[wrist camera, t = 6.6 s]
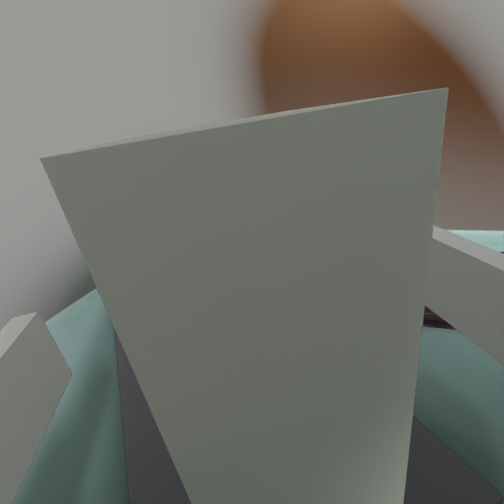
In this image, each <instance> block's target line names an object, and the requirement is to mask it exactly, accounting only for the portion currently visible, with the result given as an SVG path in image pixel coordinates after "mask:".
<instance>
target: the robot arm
mask: <svg viewBox="0 0 504 504" xmlns="http://www.w3.org/2000/svg"><path fill="white" fill-rule="evenodd" d="M425 306H426V307H428V308H429V309H430V310H432V311H433V312H434V313H436V314H437V315H438V316H440V317H441V318H442V319H444V320H445V321H446V322H448V323H449V324H450V325H451V326H453V327H454V328H455V329H457V330H458V331H459V332H461V333H462V334H463V335H465V336H466V337H467V338H469V339H470V340H471V341H473V342H474V343H475V344H477V345H478V346H479V347H481V348H482V349H483V350H485V351H486V352H487V353H489V354H490V355H491V356H493V357H494V358H495V359H497V360H498V361H499V362H501V363H502V364H503V365H504V254H503V253H500V252H498V251H496V250H493V249H491V248H488V247H486V246H483V245H481V244H478V243H476V242H473V241H471V240H468V239H466V238H463V237H461V236H458V235H456V234H453V233H451V232H449V231H446V230H444V229H441V228H439V227H436V226H434V225H433V234H432V244H431V253H430V262H429V271H428V280H427V290H426V299H425ZM71 376H72V372H71V370H70V368H69V366H68V365H67V363H66V361H65V359H64V357H63V356H62V354H61V352H60V350H59V349H58V347H57V345H56V343H55V341H54V340H53V338H52V336H51V334H50V332H49V331H48V329H47V327H46V325H45V323H44V322H43V320H42V318H41V316H40V315H39V313H38V312H34V313H29V314H25V315H21V316H16V317H13V318H12V319H11V320H10V321H9V322H8V323H7V324H6V325H5V326H4V327H3V329H2V330H1V331H0V504H13V501H14V499H15V497H16V495H17V493H18V491H19V488H20V486H21V484H22V482H23V480H24V478H25V475H26V473H27V471H28V469H29V467H30V465H31V462H32V460H33V458H34V456H35V454H36V452H37V449H38V447H39V445H40V443H41V441H42V439H43V436H44V434H45V432H46V430H47V428H48V425H49V423H50V421H51V419H52V417H53V415H54V412H55V410H56V408H57V406H58V404H59V402H60V399H61V397H62V395H63V393H64V391H65V389H66V386H67V384H68V382H69V380H70V378H71Z"/></svg>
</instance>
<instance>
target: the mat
mask: <svg viewBox="0 0 504 504" xmlns="http://www.w3.org/2000/svg"><path fill="white" fill-rule="evenodd" d="M114 329H115V328H114ZM115 341H116V352H117V364H118V376H119V387H120V399H121V411H122V422H123V434H124V446H125V457H126V469H127V480H128V492H129V504H191V501H190V499H189V497H188V495H187V492H186V490H185V488H184V485H183V483H182V481H181V479H180V476H179V474H178V472H177V470H176V467H175V465H174V463H173V460H172V458H171V456H170V454H169V451H168V449H167V447H166V444H165V442H164V440H163V438H162V435H161V433H160V431H159V428H158V426H157V424H156V422H155V419H154V417H153V415H152V413H151V410H150V408H149V406H148V403H147V401H146V399H145V397H144V394H143V392H142V390H141V387H140V385H139V383H138V381H137V378H136V376H135V374H134V371H133V369H132V367H131V365H130V362H129V360H128V358H127V356H126V353H125V351H124V349H123V346H122V344H121V342H120V340H119V337H118V335H117V333H116V330H115ZM503 497H504V496H503V495H502V494H501V493H499V492H498V491H497V490H496V489H495V488H494V487H493V486H491V485H490V484H489V483H488V482H487V481H486V480H485V479H483V478H482V477H481V476H480V475H479V474H478V473H477V472H475V471H474V470H473V469H472V468H471V467H470V466H469V465H468V464H466V463H465V462H464V461H463V460H462V459H461V458H460V457H458V456H457V455H456V454H455V453H454V452H453V451H452V450H450V449H449V448H448V447H447V446H446V445H445V444H444V443H442V442H441V441H440V440H439V439H438V438H437V437H436V436H434V435H433V434H432V433H431V432H430V431H429V430H428V429H426V428H425V427H424V426H423V425H422V424H421V423H420V422H418V421H417V420H416V419H415V418H414V417H413V419H412V428H411V437H410V446H409V456H408V465H407V474H406V483H405V492H404V502H403V504H501V503H502V500H503Z"/></svg>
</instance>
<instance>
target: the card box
mask: <svg viewBox="0 0 504 504" xmlns="http://www.w3.org/2000/svg"><path fill="white" fill-rule="evenodd" d="M447 96H448V88H442V89H436V90H428V91H421V92H414V93H407V94H400V95H394V96H387V97H380V98H373V99H366V100H359V101H352V102H345V103H339V104H332V105H325V106H318V107H311V108H304V109H297V110H290V111H284V112H279V113H273V114H267V115H261V116H255V117H250V118H244V119H238V120H232V121H226V122H220V123H215V124H209V125H203V126H198V127H191V128H186V129H181V130H174V131H168V132H162V133H157V134H151V135H145V136H139V137H134V138H130V139H125V140H121V141H116V142H112V143H107V144H103V145H98V146H94V147H90V148H85V149H80V150H77V151H72V152H67V153H63V154H58V155H54V156H49V157H45V158H41V162H42V164H43V166H44V169H45V171H46V173H47V175H48V178H49V180H50V182H51V185H52V187H53V189H54V191H55V194H56V195H57V198H58V200H59V203H60V205H61V207H62V210H63V212H64V214H65V216H66V219H67V221H68V223H69V226H70V228H71V230H72V232H73V235H74V237H75V239H76V241H77V244H78V246H79V248H80V251H81V253H82V255H83V258H84V260H85V262H86V264H87V267H88V269H89V271H90V273H91V276H92V278H93V280H94V283H95V285H96V287H97V289H98V292H99V294H100V296H101V299H102V301H103V303H104V305H105V308H106V310H107V312H108V315H109V317H110V319H111V321H112V324H113V326H114V328H115V330H116V333H117V335H118V337H119V340H120V342H121V344H122V346H123V349H124V351H125V353H126V356H127V358H128V360H129V362H130V365H131V367H132V369H133V371H134V374H135V376H136V378H137V381H138V383H139V385H140V387H141V390H142V392H143V394H144V397H145V399H146V401H147V403H148V406H149V408H150V410H151V413H152V415H153V417H154V419H155V422H156V424H157V426H158V428H159V431H160V433H161V435H162V438H163V440H164V442H165V444H166V447H167V449H168V451H169V454H170V456H171V458H172V460H173V463H174V465H175V467H176V470H177V472H178V474H179V476H180V479H181V481H182V483H183V485H184V488H185V490H186V492H187V495H188V497H189V499H190V501H191V504H403V502H404V492H405V483H406V474H407V465H408V456H409V446H410V437H411V428H412V419H413V409H414V400H415V391H416V382H417V373H418V363H419V354H420V345H421V336H422V326H423V317H424V308H425V299H426V290H427V280H428V271H429V262H430V253H431V244H432V234H433V225H434V216H435V206H436V197H437V188H438V179H439V170H440V161H441V151H442V142H443V133H444V124H445V114H446V105H447Z"/></svg>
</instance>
